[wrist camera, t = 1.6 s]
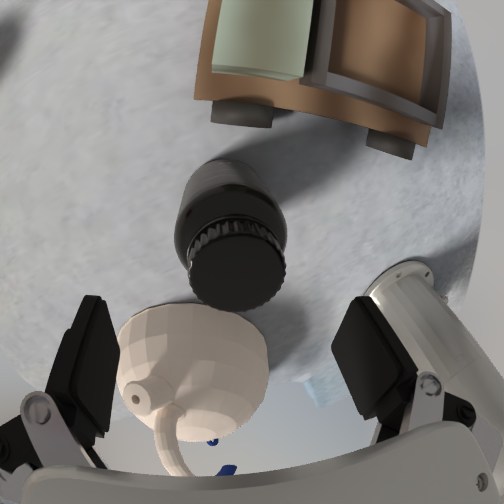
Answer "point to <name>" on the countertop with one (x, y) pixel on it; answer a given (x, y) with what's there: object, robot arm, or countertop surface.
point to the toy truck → (329, 65)
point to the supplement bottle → (231, 237)
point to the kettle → (191, 376)
